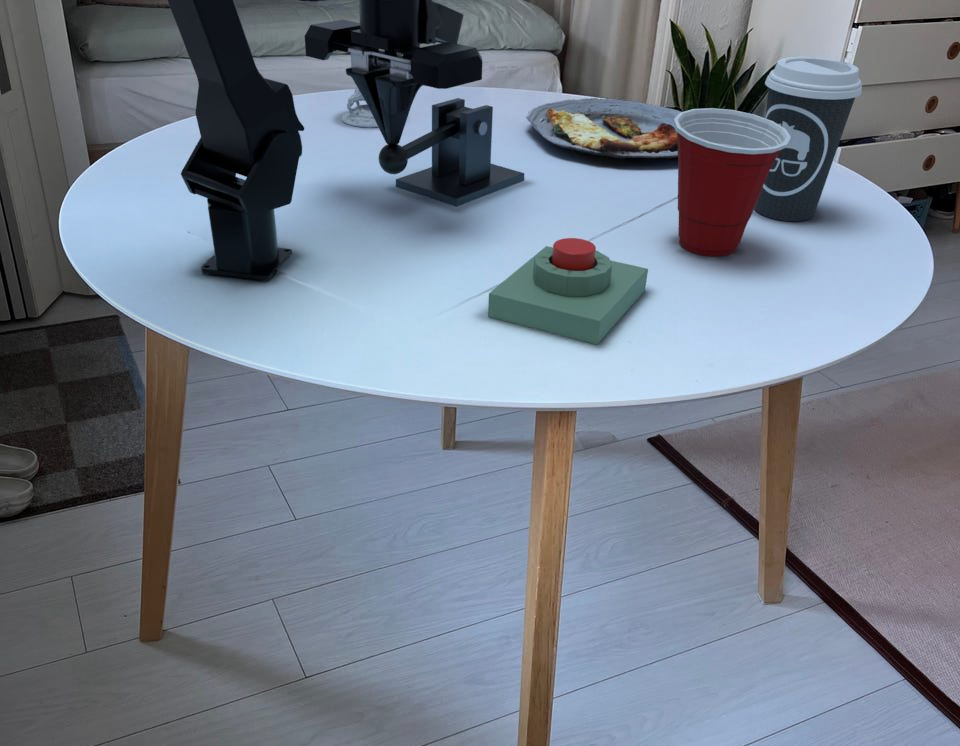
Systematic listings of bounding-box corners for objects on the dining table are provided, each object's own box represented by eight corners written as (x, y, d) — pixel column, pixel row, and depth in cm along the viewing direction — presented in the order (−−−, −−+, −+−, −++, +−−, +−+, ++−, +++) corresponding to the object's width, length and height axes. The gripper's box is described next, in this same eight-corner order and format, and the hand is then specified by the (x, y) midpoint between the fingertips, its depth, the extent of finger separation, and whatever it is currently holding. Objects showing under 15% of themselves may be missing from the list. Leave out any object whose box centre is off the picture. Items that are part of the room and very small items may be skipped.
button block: (597, 345, 74) (602, 300, 72) (487, 317, 78) (489, 272, 75) (645, 291, 83) (651, 249, 81) (544, 267, 86) (547, 226, 84)
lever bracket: (456, 209, 98) (458, 125, 93) (395, 189, 103) (393, 107, 97) (524, 183, 106) (529, 103, 100) (464, 165, 110) (466, 88, 105)
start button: (584, 277, 76) (586, 257, 75) (544, 268, 78) (546, 248, 77) (599, 262, 79) (602, 243, 78) (561, 253, 80) (563, 234, 79)
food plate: (744, 168, 113) (750, 139, 111) (564, 177, 108) (567, 147, 106) (663, 114, 132) (666, 88, 130) (508, 119, 127) (509, 92, 125)
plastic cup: (706, 277, 86) (732, 147, 79) (633, 237, 93) (650, 115, 86) (787, 255, 91) (818, 131, 84) (711, 220, 98) (733, 102, 91)
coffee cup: (842, 227, 98) (883, 77, 89) (755, 226, 97) (788, 75, 88) (809, 196, 105) (844, 55, 96) (728, 195, 105) (756, 54, 96)
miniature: (392, 129, 121) (391, 90, 119) (335, 125, 122) (332, 87, 119) (404, 113, 128) (403, 76, 125) (349, 109, 128) (347, 72, 126)
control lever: (395, 181, 93) (392, 153, 91) (374, 174, 95) (370, 146, 93) (481, 135, 101) (480, 107, 99) (460, 129, 102) (458, 102, 100)
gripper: (523, -26, 84) (513, 147, 94) (378, -48, 94) (382, 111, 103) (443, -14, 77) (441, 172, 86) (295, -40, 86) (307, 130, 96)
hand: (392, 144), depth 93 cm, fingers closed
